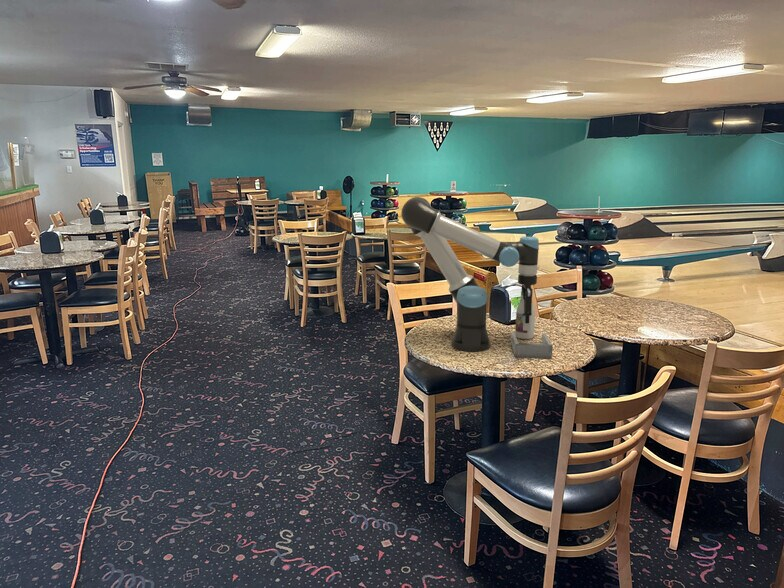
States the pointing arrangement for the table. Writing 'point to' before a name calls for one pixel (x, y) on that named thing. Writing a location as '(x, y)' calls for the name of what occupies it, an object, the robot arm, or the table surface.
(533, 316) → the milk bottle
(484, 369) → the table surface
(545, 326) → the table surface
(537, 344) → the coupler bracket
